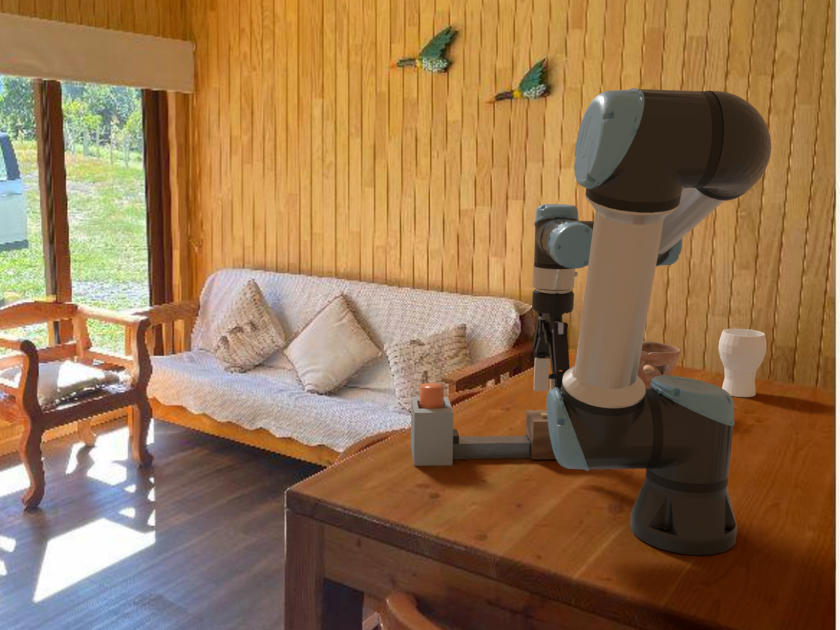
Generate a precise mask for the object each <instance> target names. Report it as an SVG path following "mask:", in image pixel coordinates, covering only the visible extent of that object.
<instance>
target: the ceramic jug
mask: <svg viewBox="0 0 840 630" xmlns="http://www.w3.org/2000/svg"><path fill="white" fill-rule="evenodd" d="M680 353H681V349H680V348H678V347H677V346H675V345H672V344H668V343H665V342H664V343H663V342H657V341H650V340H649V341H646V340H645V341H644V340H643V344H642V350H641V356H640V362H639V368H638V374H637V376H638V377H639V378H640V379H641V380H642V381H643V382H644V384H645V388H651V386H650V383H651V381H652V379H653V378H654V377H655V376H661V375H672V373H673V372H674V369H675V367H676V365H677V363H678V360H679V357H680Z"/></svg>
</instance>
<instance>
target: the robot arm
mask: <svg viewBox="0 0 840 630" xmlns="http://www.w3.org/2000/svg"><path fill="white" fill-rule="evenodd" d="M771 140H772V138H771V132H770V131H769V127H768V125H767V123H766V121H765V119H764V117H763V116H762V115H761V113H760V112H759V111H758V110H757V108H755V106H753V105H752V104H751V103H750V102H748V101H747V100H746V99H744V98H742V97H740V96H738V95H737V94H734V93H730V92H727V91H721V90H680V89H677V90H676V89H674V90H673V89H652V88H651V89H648V88H643V89H642V88H637V87H633V88H630V89H620V90H618V89H617V90H616V89H615V90H605V91H603V92H601V93H599V94H598V95H595V97H594V98H593V99H592V100H591V102H590V104H589V105H588V106H587V109H586V110H585V112H584V114H583V117H582V119H581V123H580V126H579V129H578V133H577V138H576V142H575V150H574V157H575V160H574V166H573V168H574V176H575V179H576V182H577V184H578V185H579V186H580V187H583V188H584V189H585V193H584V196H585V199H586V201H588V203H589V204H590V205H591V207H592V208H594V211H595V213H594V218H593V220H580V219H579V210H578V207H577V206H575V205H572V204H563V203H561V204H560V203H546V204H545V203H543V204H541V205H539V206H538V207H537V208H536V212H535V220H534V250H533V251H534V253H533V254H534V256H533V257H534V258H533V265H532V266H533V267H532V287H533V288H534V290H533V291H532V293H531V294H532V296H531V297H532V300H531V309H532V310H533V311H535V312H536V313H537V317H536V319H537V320H536V325H535V332H534V337H533V341H532V348H531V349H532V352H533V355H534V367H533V369H534V370H533V391H534V392H547V394H546V410H547V420H548V428H549V434H550V440H551V444H552V448H553V452H554V455H555V458H556V459H555V460H556V462H557V463H558V464H559V465H560V466H561V467H562V468H564V469H567V470H568V469H569V470H570V469H571V470H585V471H587V472H589V471H590V470H633V469H634V470H639V469H640V470H643V469H645V476H644V477H645V478H644V480H643V483H642V485H641V487H640V489H639V492H638V495H637V497H636V499H635V501H634V503H633V506H632V509H631V511H630V525H629V526H630V530H631V532H632V534H633V535H634V536H636V537H637V538H638V539H639V540H641V541H642V542H645V543H646V544H647V545H651V546H652V547H655V548H658V549H660V550H664V551H665V552H670V553H675V554H682V555H689V556H708V555H709V556H710V555H715V554H721V553H724V552H727V551H729V550H731V549H732V548H733V547H735V545H736V542H737V533H738V524H737V521H736V516H735V513H734V509H733V506H732V501H731V498H730V497H731V496H730V494H729V487H728V486H729V477H730V476H729V474H730V467H731V465H730V464H731V454H732V444H733V443H732V442H733V441H732V440H733V432H734V431H733V430H734V426H735V419H734V418H735V417H734V416H735V415H734V414H735V409H734V407H735V406H734V405H735V403H734V400H733V396H731V395H730V394H729V393H728V392H727V391H725V390H724V389H722V387H720V386H717V385H716V384H713V383H710V382H706V381H704V380H700V379H696V378H691V377H685V376H679V375H672V374H671V375H661V376H655V377H654V378H653V379H652V381H651V383H650V386H651V388H645V384H644V382H643V381H642V380H641V379H640V378H639V377H638V376H637V374H638V368H639V362H640V356H641V350H642V344H643V341H644V337H645V331H646V327H647V322H648V321H647V320H648V316H649V315H648V314H649V309H650V303H651V298H652V291H653V284H654V279H655V274H656V268H657V267H660V266H672V265H674V264H675V263H676V262H677V261H678V260H679V258H680V255H681V254H682V253H681V252H682V249H683V238H684V237H685V236H686V235H688V234H689V232H691V231H692V230H694V228H695V227H697V226H698V225H699V224H700V223H701V222H702V221H703V220H704V219H706V218H707V217H708V216H710V214H711V213H712V212H713V211H715V210H716V209H717V208H719V206H720V205H721V204H723V203H724V202H727V201H728V202H729V201H733V200H736V199H738V198H740V197H741V196H743V195H744V194H746V193H747V192H748V191H749V190H751V188H753V187H754V186H755V185H756V184H757V183H759V180H760V179H761V178H762V177H763V175H764V173H765V172H766V170H767V167H768V165H769V162H770V159H771V153H772V141H771ZM585 267H587V272H586V279H585V287H584V296H583V303H582V311H581V312H582V313H581V317H580V324H579V326H580V328H579V332H578V333H579V334H578V341H577V350H576V357H575V363H574V364H575V365H573V366H572V367H570V353H569V352H570V351H569V338H568V337H569V336H568V332H569V330H568V329H569V323H568V322H564V321H563V315H565V314H569V313H572V312H573V310H574V305H575V300H574V299H575V293H574V291H573V289H574V288H575V277H576V278H577V277H578V274H579V273H578V271H576V269H582V268H585ZM550 368H551V369H550ZM550 370H551V373H550ZM549 373H550V374H549Z"/></svg>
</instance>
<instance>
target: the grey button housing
mask: <svg viewBox="0 0 840 630" xmlns="http://www.w3.org/2000/svg"><path fill="white" fill-rule="evenodd" d="M410 403H411V405H410V408H411V410H410V412H411V413H410V449H411V450H410V451H411V456H412V461H413V466H414V467H417V466H418V467H419V466H420V467H421V466H426V467H427V466H453V460H454V459H453V429H454V411H453V407H452V404H451V402H450V399H449V397H448V396H444V408H442V409H420V396H411V399H410Z"/></svg>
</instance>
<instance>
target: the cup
mask: <svg viewBox="0 0 840 630" xmlns="http://www.w3.org/2000/svg"><path fill="white" fill-rule="evenodd" d="M766 353H767V340H766V333H764V332H762V331H760V330H755V329H747V328H726V329H723V330H722V332H721V334H720V337H719V340H718V354H719V357H720V361H721V363H722V365H723V367H724V369H723V370H724V380H723V383H722V387H721V388H722V389H724V390H725V391H727V392H728V393H729V394H730V395H731V397H739V398H751V397H755V396H756V374H757V371H758V369H759V367H760V366H761V364H762V363H763V361H764V359H765V356H766Z"/></svg>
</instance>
